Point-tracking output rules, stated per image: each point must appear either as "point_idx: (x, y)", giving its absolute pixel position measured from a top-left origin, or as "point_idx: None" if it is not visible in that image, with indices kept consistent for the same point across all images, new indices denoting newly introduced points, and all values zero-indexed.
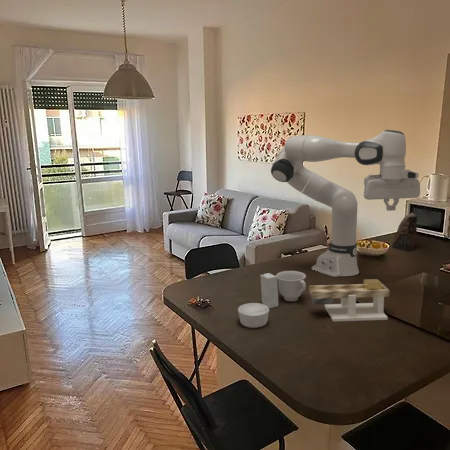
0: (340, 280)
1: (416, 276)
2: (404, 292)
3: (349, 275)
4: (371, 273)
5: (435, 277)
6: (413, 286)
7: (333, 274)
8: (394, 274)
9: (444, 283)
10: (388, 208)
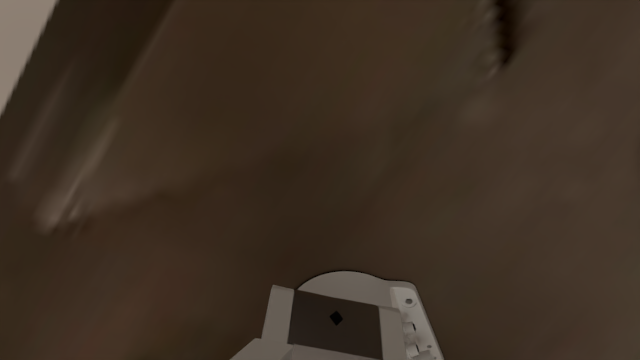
0: (409, 246)
1: (94, 196)
2: (237, 50)
3: (352, 273)
4: (251, 274)
5: (22, 164)
6: (162, 102)
7: (413, 291)
8: (170, 240)
9: (15, 93)
10: (398, 328)
